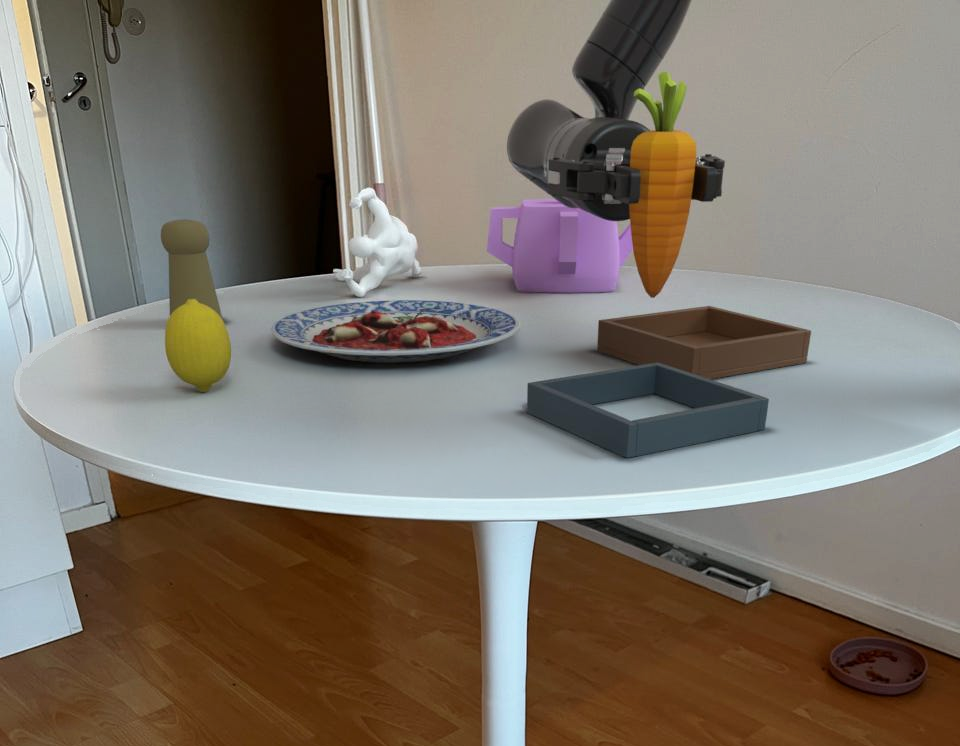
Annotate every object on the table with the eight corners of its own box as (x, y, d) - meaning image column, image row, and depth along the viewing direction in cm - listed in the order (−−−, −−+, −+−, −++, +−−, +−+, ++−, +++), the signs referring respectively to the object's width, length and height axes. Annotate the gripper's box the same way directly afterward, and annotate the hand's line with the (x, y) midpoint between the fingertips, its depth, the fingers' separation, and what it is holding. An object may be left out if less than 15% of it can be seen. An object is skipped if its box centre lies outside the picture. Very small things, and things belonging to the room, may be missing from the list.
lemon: (220, 380, 93) (209, 290, 89) (246, 393, 89) (235, 300, 85) (162, 390, 90) (148, 297, 86) (186, 404, 86) (172, 307, 82)
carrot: (672, 306, 74) (691, 71, 66) (609, 300, 76) (621, 72, 69) (694, 294, 78) (715, 71, 70) (634, 289, 80) (647, 72, 72)
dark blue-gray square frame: (655, 390, 89) (658, 362, 88) (765, 429, 79) (769, 398, 78) (526, 412, 83) (527, 382, 82) (626, 458, 73) (629, 424, 72)
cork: (185, 330, 112) (170, 225, 107) (160, 322, 116) (144, 220, 111) (233, 323, 116) (221, 220, 110) (207, 315, 120) (194, 215, 114)
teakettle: (476, 285, 137) (476, 186, 131) (560, 270, 147) (563, 178, 141) (570, 301, 126) (574, 194, 120) (653, 285, 137) (661, 185, 131)
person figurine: (339, 194, 138) (352, 179, 121) (429, 214, 141) (454, 201, 124) (326, 293, 141) (338, 291, 125) (414, 310, 145) (437, 310, 128)
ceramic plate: (453, 387, 91) (452, 353, 89) (221, 359, 100) (217, 329, 99) (556, 330, 111) (556, 303, 110) (355, 312, 121) (353, 286, 119)
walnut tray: (706, 335, 109) (709, 305, 108) (806, 362, 98) (811, 330, 96) (596, 351, 103) (598, 319, 101) (691, 382, 92) (694, 348, 90)
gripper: (523, 119, 82) (576, 127, 68) (690, 116, 84) (777, 124, 70) (522, 217, 86) (572, 246, 71) (682, 213, 88) (763, 240, 73)
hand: (673, 186), depth 71 cm, fingers closed on carrot, 5 cm apart
